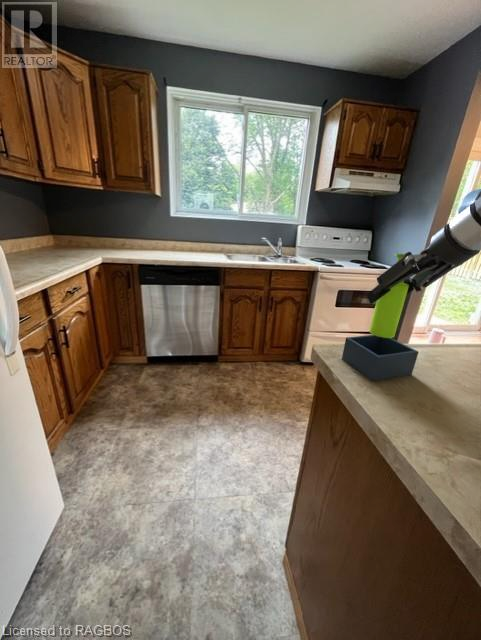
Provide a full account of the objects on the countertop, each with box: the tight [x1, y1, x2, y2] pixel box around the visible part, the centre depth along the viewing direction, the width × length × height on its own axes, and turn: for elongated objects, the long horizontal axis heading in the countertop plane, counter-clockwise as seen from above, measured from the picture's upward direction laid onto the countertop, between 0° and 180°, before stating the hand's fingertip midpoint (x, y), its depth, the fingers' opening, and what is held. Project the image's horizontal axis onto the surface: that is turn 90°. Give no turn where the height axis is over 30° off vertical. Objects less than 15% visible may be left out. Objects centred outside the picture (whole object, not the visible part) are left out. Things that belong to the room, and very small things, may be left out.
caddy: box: [341, 334, 419, 382], centre depth 71 cm, size 13×12×7 cm
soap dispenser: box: [368, 253, 409, 339], centre depth 66 cm, size 6×7×20 cm
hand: (380, 298), depth 69 cm, fingers closed on soap dispenser, 6 cm apart
